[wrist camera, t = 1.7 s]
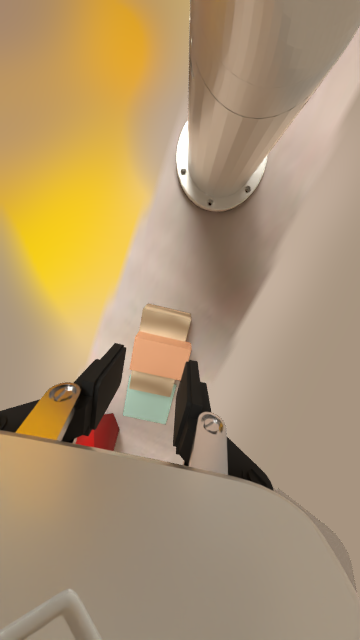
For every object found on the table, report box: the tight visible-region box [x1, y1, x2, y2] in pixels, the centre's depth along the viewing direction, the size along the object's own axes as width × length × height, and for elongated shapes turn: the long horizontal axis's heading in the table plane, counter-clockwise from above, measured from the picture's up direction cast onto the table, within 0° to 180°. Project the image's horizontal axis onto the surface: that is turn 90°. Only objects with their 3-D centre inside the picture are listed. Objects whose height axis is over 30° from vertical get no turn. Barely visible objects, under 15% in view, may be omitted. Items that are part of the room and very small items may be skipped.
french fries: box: [75, 413, 119, 451], centre depth 34 cm, size 9×8×15 cm
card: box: [130, 331, 191, 381], centre depth 29 cm, size 6×9×2 cm, turn 77°
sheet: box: [129, 304, 191, 397], centre depth 33 cm, size 16×8×4 cm, turn 167°
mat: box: [123, 375, 176, 424], centre depth 39 cm, size 11×10×1 cm
